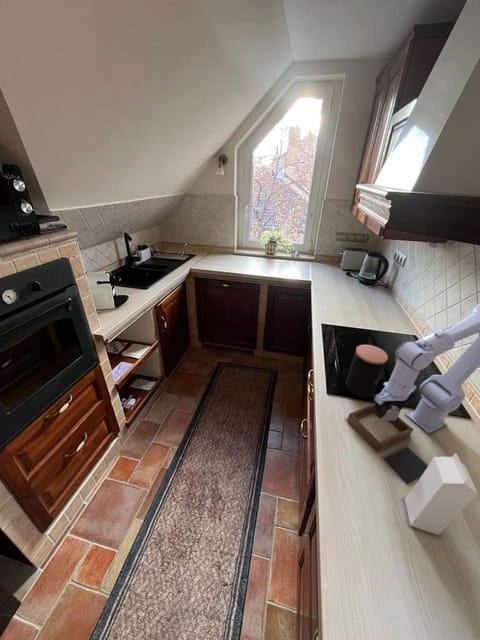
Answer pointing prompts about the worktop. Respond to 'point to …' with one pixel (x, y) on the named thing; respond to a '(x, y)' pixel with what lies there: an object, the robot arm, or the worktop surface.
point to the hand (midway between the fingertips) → (387, 412)
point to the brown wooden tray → (374, 443)
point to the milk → (440, 494)
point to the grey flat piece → (391, 414)
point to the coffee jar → (366, 370)
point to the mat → (406, 464)
